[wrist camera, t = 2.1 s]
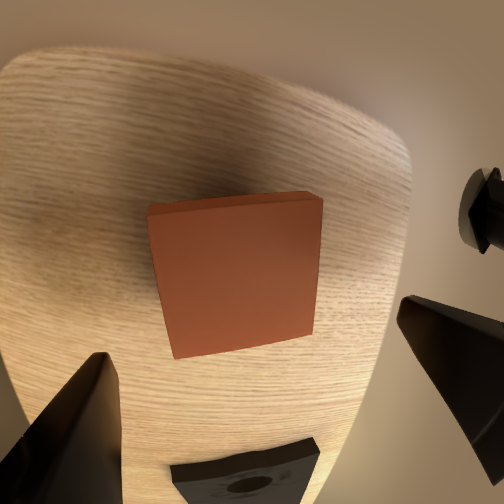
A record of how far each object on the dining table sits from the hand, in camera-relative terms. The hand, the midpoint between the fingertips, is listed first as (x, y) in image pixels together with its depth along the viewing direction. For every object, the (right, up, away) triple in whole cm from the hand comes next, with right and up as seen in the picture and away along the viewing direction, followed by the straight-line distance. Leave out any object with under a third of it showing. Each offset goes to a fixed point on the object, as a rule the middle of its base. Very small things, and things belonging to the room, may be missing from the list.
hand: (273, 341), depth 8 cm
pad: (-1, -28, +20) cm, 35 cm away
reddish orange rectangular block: (-2, +3, +6) cm, 7 cm away
